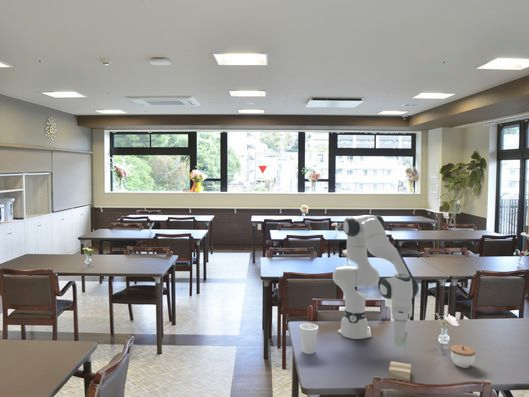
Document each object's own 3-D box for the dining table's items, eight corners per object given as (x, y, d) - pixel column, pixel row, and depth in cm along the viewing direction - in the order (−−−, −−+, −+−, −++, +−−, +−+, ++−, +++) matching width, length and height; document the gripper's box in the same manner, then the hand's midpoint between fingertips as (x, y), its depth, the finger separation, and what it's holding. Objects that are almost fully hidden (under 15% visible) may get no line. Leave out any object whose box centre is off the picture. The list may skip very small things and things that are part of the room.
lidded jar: (473, 372, 201) (473, 352, 201) (448, 366, 207) (449, 347, 207) (475, 363, 211) (476, 344, 210) (452, 358, 216) (452, 340, 216)
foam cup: (316, 356, 217) (317, 330, 217) (298, 354, 219) (298, 329, 219) (318, 348, 227) (318, 324, 226) (300, 346, 229) (301, 322, 228)
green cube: (395, 341, 200) (395, 331, 200) (406, 343, 198) (407, 332, 198) (394, 345, 195) (394, 334, 195) (406, 347, 193) (406, 336, 193)
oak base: (390, 369, 203) (390, 361, 203) (410, 372, 200) (411, 364, 200) (388, 377, 195) (388, 369, 195) (409, 381, 192) (410, 372, 191)
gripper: (396, 303, 207) (395, 332, 207) (392, 316, 188) (391, 348, 188) (410, 305, 204) (409, 334, 205) (407, 318, 185) (406, 350, 186)
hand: (400, 340), depth 196 cm, fingers closed on green cube, 5 cm apart
